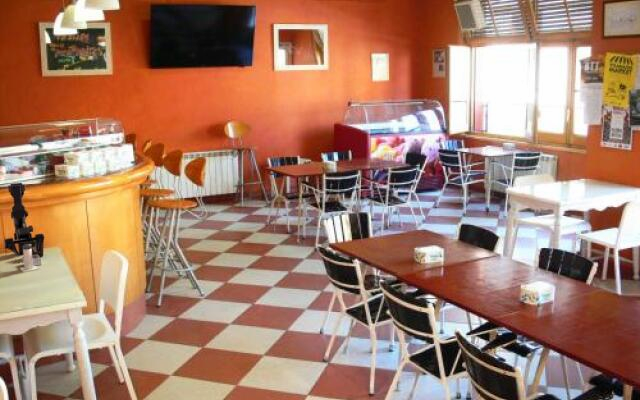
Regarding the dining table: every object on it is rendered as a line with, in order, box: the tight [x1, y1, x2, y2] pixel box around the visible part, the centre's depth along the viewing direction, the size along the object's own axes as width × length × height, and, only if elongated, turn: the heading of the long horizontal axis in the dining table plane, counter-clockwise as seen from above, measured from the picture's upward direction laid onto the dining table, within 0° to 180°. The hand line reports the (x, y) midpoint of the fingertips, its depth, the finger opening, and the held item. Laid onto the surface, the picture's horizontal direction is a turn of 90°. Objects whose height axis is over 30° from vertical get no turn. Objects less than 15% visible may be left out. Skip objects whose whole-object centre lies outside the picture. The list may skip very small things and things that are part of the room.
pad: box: [19, 266, 39, 273], centre depth 340 cm, size 8×8×1 cm
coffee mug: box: [20, 241, 45, 258], centre depth 362 cm, size 12×9×10 cm
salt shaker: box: [22, 244, 33, 269], centre depth 339 cm, size 4×4×12 cm
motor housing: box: [21, 254, 42, 267], centre depth 348 cm, size 8×8×4 cm
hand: (27, 254), depth 337 cm, fingers open, 9 cm apart
